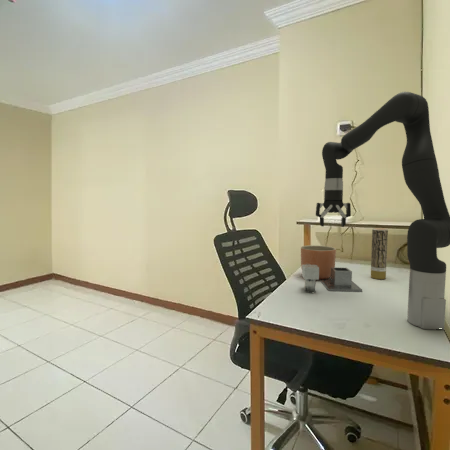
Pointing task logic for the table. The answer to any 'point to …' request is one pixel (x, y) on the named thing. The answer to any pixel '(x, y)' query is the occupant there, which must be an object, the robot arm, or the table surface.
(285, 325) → the table surface
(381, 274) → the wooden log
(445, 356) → the table surface
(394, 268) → the table surface
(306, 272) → the silver block with cylinder
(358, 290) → the duct socket
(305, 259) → the planter
